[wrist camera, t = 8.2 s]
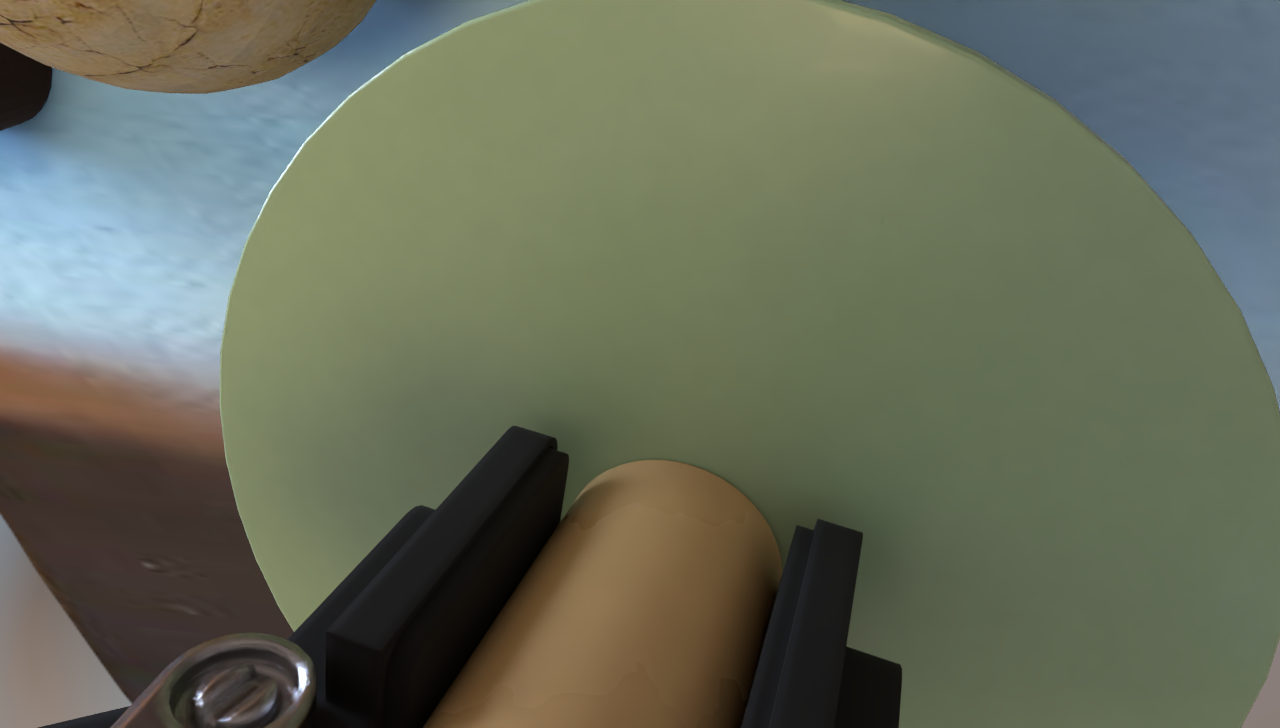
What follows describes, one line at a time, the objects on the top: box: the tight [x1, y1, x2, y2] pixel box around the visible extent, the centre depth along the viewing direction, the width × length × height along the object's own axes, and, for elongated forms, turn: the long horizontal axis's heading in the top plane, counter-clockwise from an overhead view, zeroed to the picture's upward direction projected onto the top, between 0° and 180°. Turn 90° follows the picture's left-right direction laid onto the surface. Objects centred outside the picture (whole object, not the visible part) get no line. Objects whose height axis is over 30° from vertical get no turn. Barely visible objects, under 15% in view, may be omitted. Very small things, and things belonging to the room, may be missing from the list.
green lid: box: [220, 0, 1280, 728], centre depth 10 cm, size 13×13×6 cm
